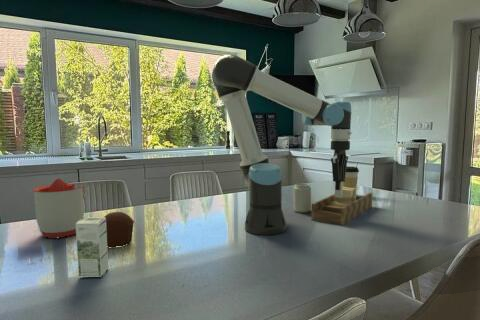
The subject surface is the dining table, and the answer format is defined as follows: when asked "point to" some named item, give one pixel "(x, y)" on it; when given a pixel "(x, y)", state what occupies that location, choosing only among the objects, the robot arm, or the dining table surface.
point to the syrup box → (92, 246)
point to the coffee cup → (351, 177)
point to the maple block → (347, 195)
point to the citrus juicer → (58, 208)
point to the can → (302, 198)
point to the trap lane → (340, 209)
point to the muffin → (118, 229)
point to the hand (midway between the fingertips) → (338, 197)
